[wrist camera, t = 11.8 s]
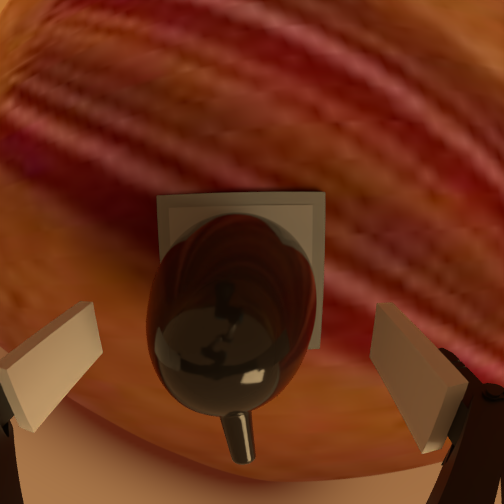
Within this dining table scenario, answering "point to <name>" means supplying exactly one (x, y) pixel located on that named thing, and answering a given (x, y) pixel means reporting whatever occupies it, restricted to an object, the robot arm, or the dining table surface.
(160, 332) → the pump dispenser
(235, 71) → the dining table surface
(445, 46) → the dining table surface
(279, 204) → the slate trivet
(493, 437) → the robot arm
